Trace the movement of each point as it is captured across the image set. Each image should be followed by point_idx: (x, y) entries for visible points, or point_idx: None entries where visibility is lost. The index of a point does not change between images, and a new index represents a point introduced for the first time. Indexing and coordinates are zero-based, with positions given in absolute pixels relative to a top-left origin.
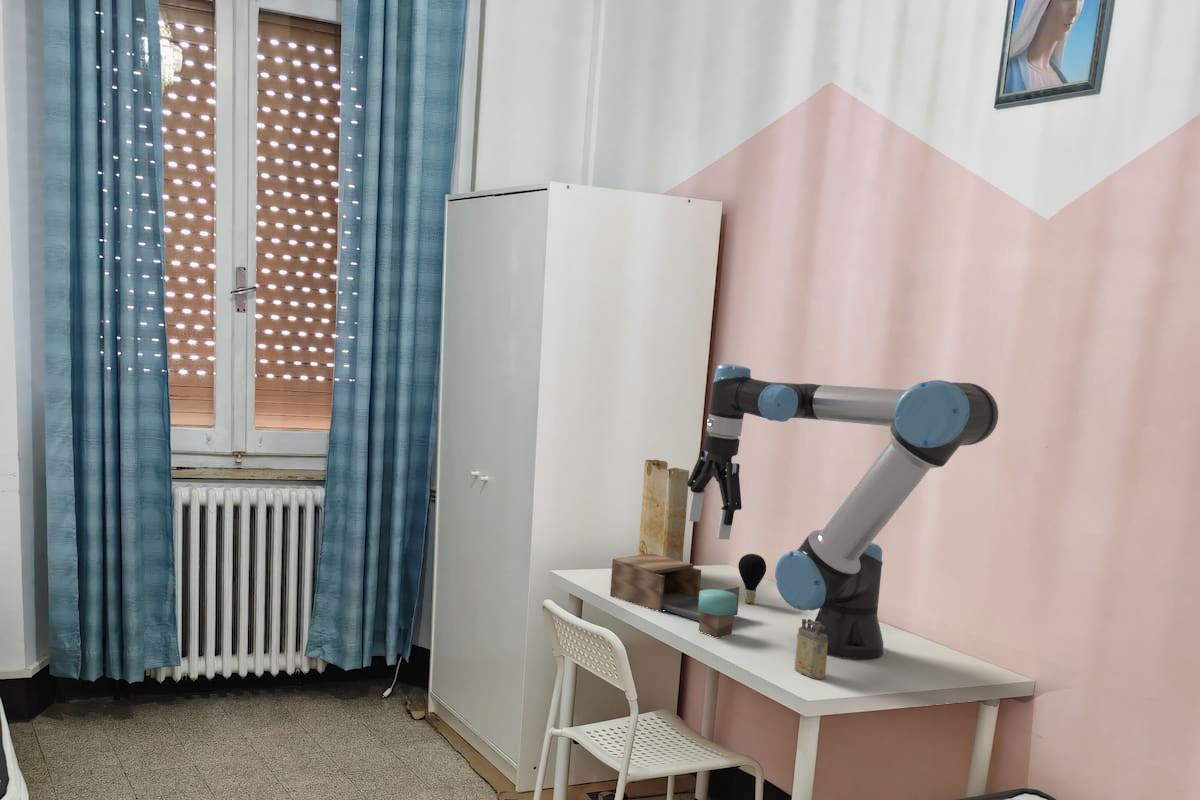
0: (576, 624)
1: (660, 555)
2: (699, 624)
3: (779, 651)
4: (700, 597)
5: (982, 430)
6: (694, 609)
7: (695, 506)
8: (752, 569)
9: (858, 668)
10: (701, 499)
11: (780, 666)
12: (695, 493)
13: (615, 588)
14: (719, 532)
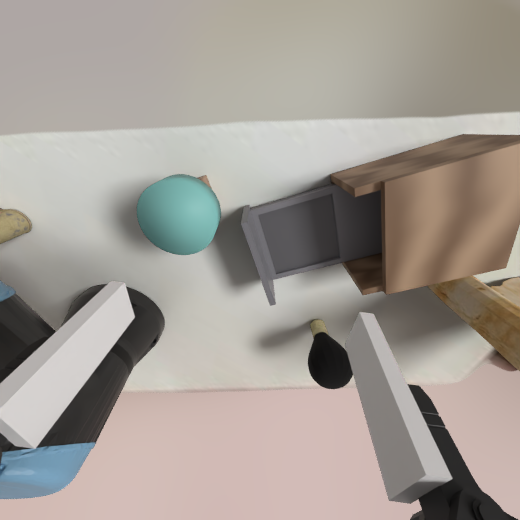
0: None
1: (517, 305)
2: (202, 177)
3: (106, 240)
4: (180, 179)
5: None
6: (296, 227)
7: (375, 387)
8: (314, 357)
9: (44, 288)
10: (379, 447)
11: (31, 200)
12: (416, 478)
13: (462, 139)
14: (93, 299)
